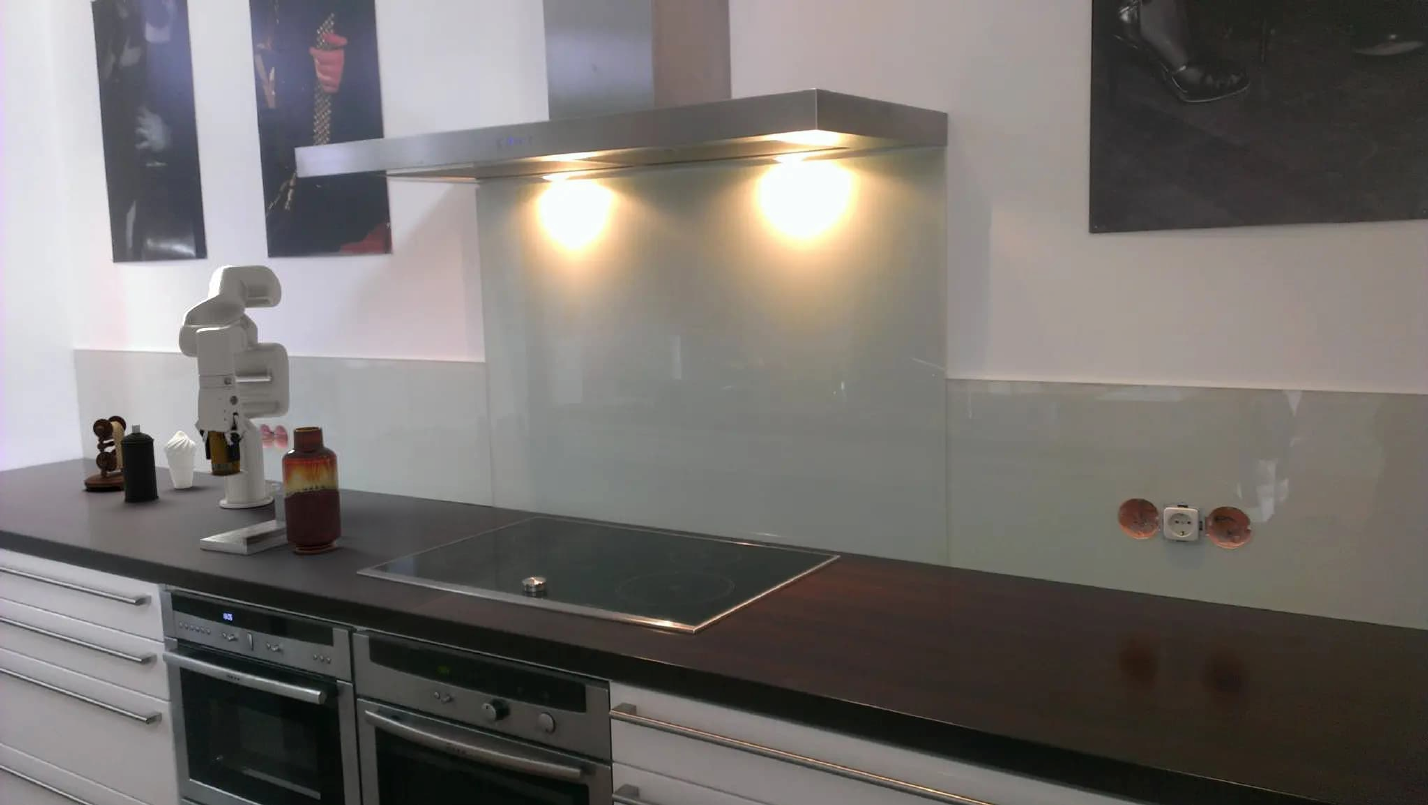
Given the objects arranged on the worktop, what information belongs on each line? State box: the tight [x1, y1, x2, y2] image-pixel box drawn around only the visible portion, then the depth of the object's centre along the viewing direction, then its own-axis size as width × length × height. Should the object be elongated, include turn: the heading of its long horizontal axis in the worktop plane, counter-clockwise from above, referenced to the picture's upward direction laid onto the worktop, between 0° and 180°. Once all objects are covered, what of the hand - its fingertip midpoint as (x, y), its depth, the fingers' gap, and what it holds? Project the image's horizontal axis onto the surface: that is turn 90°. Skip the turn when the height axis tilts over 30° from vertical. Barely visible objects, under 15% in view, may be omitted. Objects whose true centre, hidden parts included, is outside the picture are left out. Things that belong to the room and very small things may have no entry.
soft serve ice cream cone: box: [163, 430, 198, 490], centre depth 305 cm, size 8×8×16 cm
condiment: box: [204, 428, 248, 478], centre depth 249 cm, size 7×8×12 cm
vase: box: [281, 426, 342, 555], centre depth 232 cm, size 11×11×26 cm
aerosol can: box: [119, 423, 160, 503], centre depth 289 cm, size 8×8×20 cm
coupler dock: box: [199, 492, 290, 556], centre depth 242 cm, size 22×14×8 cm, turn 155°
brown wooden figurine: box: [83, 415, 127, 491], centre depth 307 cm, size 15×15×20 cm
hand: (223, 459), depth 250 cm, fingers closed on condiment, 6 cm apart
